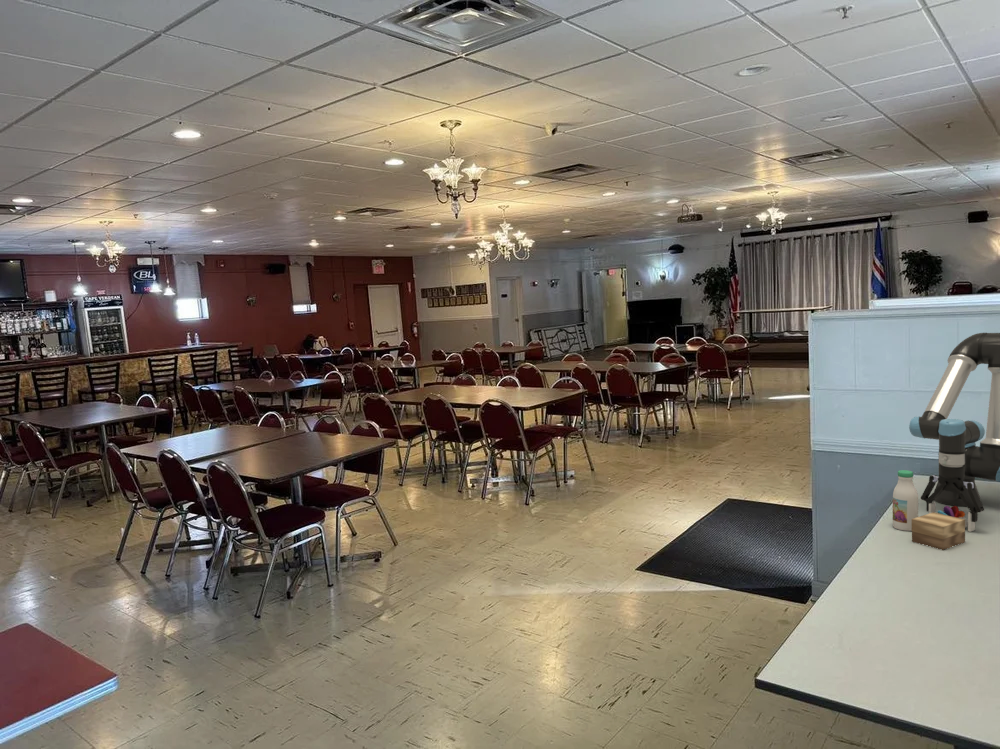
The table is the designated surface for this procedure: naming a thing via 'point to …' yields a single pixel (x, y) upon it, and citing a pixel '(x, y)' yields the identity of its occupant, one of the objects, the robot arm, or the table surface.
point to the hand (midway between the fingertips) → (951, 525)
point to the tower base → (938, 540)
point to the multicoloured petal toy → (953, 513)
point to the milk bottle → (904, 501)
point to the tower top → (938, 525)
